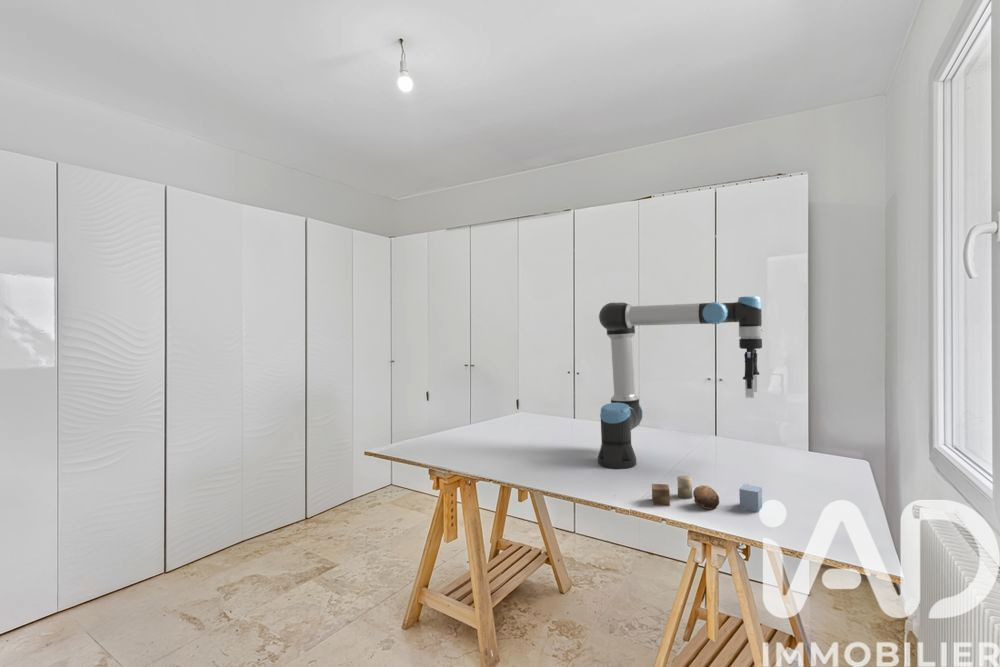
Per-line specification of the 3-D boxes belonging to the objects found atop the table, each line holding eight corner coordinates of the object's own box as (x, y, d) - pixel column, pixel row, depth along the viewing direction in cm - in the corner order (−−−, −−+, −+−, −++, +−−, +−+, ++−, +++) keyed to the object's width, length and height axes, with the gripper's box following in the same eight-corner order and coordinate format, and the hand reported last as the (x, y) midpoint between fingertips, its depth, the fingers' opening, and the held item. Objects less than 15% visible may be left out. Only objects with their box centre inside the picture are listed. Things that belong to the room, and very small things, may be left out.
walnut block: (653, 505, 151) (652, 489, 150) (652, 499, 155) (651, 483, 155) (670, 506, 149) (669, 489, 149) (668, 500, 154) (668, 484, 154)
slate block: (739, 508, 145) (739, 488, 145) (744, 503, 149) (743, 484, 149) (758, 512, 142) (757, 492, 142) (762, 507, 146) (761, 487, 145)
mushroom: (684, 490, 153) (695, 477, 149) (707, 498, 153) (718, 485, 150) (690, 511, 146) (702, 498, 143) (714, 519, 146) (726, 506, 143)
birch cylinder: (676, 497, 156) (676, 479, 155) (679, 493, 159) (678, 475, 159) (691, 499, 153) (690, 481, 153) (693, 495, 157) (692, 476, 157)
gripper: (758, 339, 167) (760, 400, 168) (764, 336, 188) (765, 390, 189) (734, 339, 171) (736, 399, 172) (743, 336, 192) (744, 389, 193)
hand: (751, 394), depth 180 cm, fingers open, 13 cm apart
